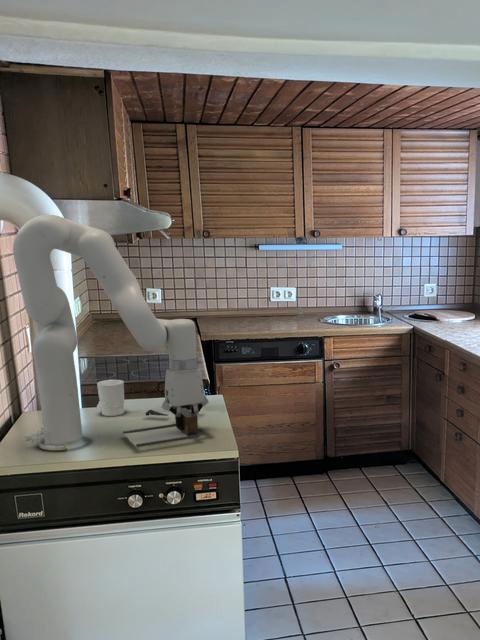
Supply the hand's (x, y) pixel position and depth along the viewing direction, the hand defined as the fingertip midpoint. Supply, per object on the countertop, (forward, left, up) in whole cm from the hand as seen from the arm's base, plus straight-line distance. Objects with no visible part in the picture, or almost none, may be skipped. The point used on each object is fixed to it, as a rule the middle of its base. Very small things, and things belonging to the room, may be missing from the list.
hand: (186, 427), depth 198 cm
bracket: (+1, +19, -3) cm, 19 cm away
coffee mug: (+8, +31, -3) cm, 32 cm away
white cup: (-12, +35, -3) cm, 37 cm away
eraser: (0, 0, -1) cm, 1 cm away
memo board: (-7, 0, -3) cm, 8 cm away
